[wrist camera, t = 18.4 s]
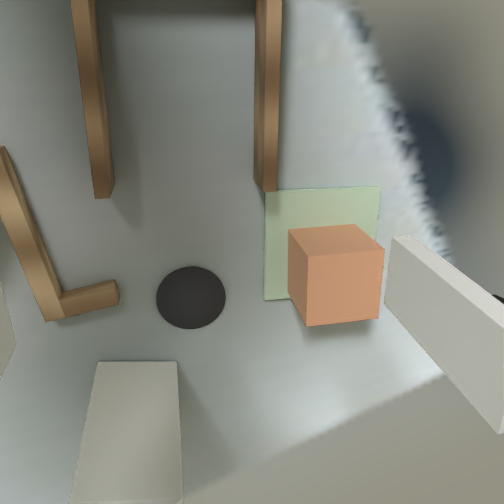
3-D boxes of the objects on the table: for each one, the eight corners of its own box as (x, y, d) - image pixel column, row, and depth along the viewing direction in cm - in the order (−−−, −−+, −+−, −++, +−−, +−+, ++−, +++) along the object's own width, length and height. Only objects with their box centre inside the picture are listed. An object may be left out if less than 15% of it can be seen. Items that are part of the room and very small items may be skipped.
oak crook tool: (-19, 150, 34) (-26, 154, 33) (65, 132, 35) (60, 136, 33) (49, 312, 40) (45, 322, 38) (120, 295, 40) (118, 304, 39)
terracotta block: (288, 229, 40) (308, 256, 35) (354, 223, 41) (384, 249, 36) (287, 291, 42) (306, 326, 37) (350, 285, 43) (378, 318, 38)
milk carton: (97, 422, 45) (57, 651, 28) (97, 359, 42) (53, 569, 25) (172, 420, 46) (179, 636, 29) (177, 359, 44) (188, 557, 27)
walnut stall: (72, -59, 30) (60, -74, 27) (270, -50, 32) (284, -62, 29) (101, 184, 36) (94, 198, 33) (265, 178, 39) (276, 191, 35)
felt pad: (265, 190, 39) (266, 192, 38) (378, 186, 41) (381, 187, 40) (263, 297, 43) (264, 300, 42) (366, 289, 44) (369, 292, 44)
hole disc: (154, 269, 40) (154, 270, 40) (224, 264, 41) (224, 266, 41) (158, 329, 42) (158, 331, 42) (225, 324, 43) (225, 325, 43)
